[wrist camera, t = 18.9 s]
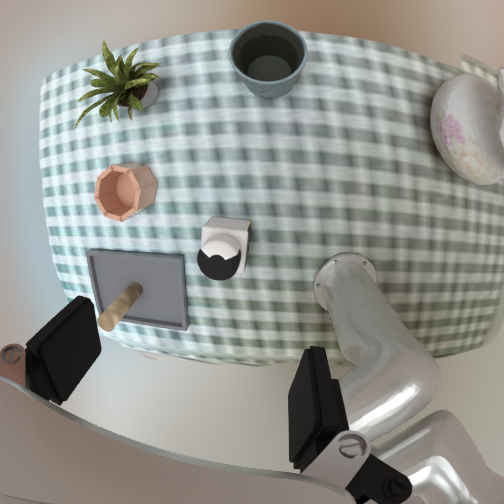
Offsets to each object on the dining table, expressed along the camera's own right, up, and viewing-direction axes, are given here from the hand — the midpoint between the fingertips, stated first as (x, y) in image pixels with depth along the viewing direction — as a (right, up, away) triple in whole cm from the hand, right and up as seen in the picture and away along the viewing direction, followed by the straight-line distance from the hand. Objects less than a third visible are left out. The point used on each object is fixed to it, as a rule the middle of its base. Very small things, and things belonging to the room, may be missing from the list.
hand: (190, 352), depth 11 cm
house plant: (-17, +31, +31) cm, 47 cm away
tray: (-22, -3, +44) cm, 49 cm away
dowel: (-22, -4, +43) cm, 48 cm away
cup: (-19, +16, +37) cm, 44 cm away
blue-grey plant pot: (+5, +34, +28) cm, 44 cm away
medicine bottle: (-1, +7, +39) cm, 39 cm away
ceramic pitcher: (+42, +27, +28) cm, 57 cm away
